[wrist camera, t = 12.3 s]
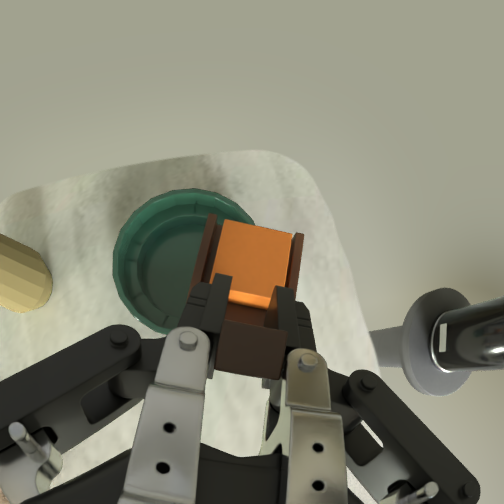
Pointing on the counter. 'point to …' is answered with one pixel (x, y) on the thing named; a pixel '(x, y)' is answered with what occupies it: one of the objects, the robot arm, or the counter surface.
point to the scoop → (246, 316)
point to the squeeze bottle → (22, 277)
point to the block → (252, 262)
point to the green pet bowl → (165, 252)
